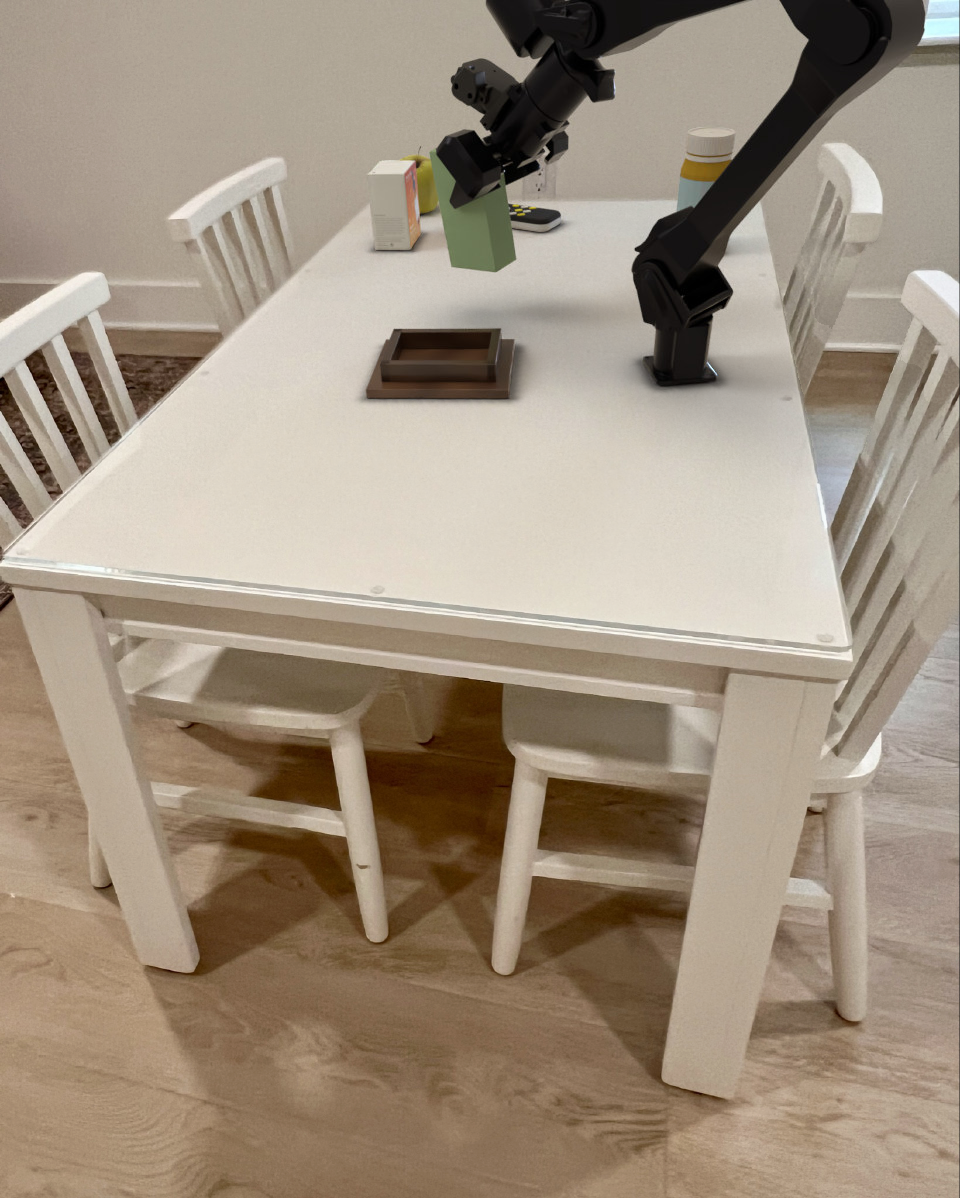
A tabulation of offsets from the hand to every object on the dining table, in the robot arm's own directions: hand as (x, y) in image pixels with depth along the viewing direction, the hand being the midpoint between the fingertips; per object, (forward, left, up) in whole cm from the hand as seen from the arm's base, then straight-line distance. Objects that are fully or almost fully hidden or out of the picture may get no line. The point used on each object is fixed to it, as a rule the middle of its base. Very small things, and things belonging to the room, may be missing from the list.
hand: (464, 199), depth 102 cm
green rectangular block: (-1, -2, -7) cm, 7 cm away
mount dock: (-16, +5, -13) cm, 21 cm away
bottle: (+17, -34, -14) cm, 41 cm away
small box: (+30, +8, -14) cm, 34 cm away
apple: (+45, +4, -14) cm, 47 cm away
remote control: (+35, -11, -14) cm, 39 cm away
